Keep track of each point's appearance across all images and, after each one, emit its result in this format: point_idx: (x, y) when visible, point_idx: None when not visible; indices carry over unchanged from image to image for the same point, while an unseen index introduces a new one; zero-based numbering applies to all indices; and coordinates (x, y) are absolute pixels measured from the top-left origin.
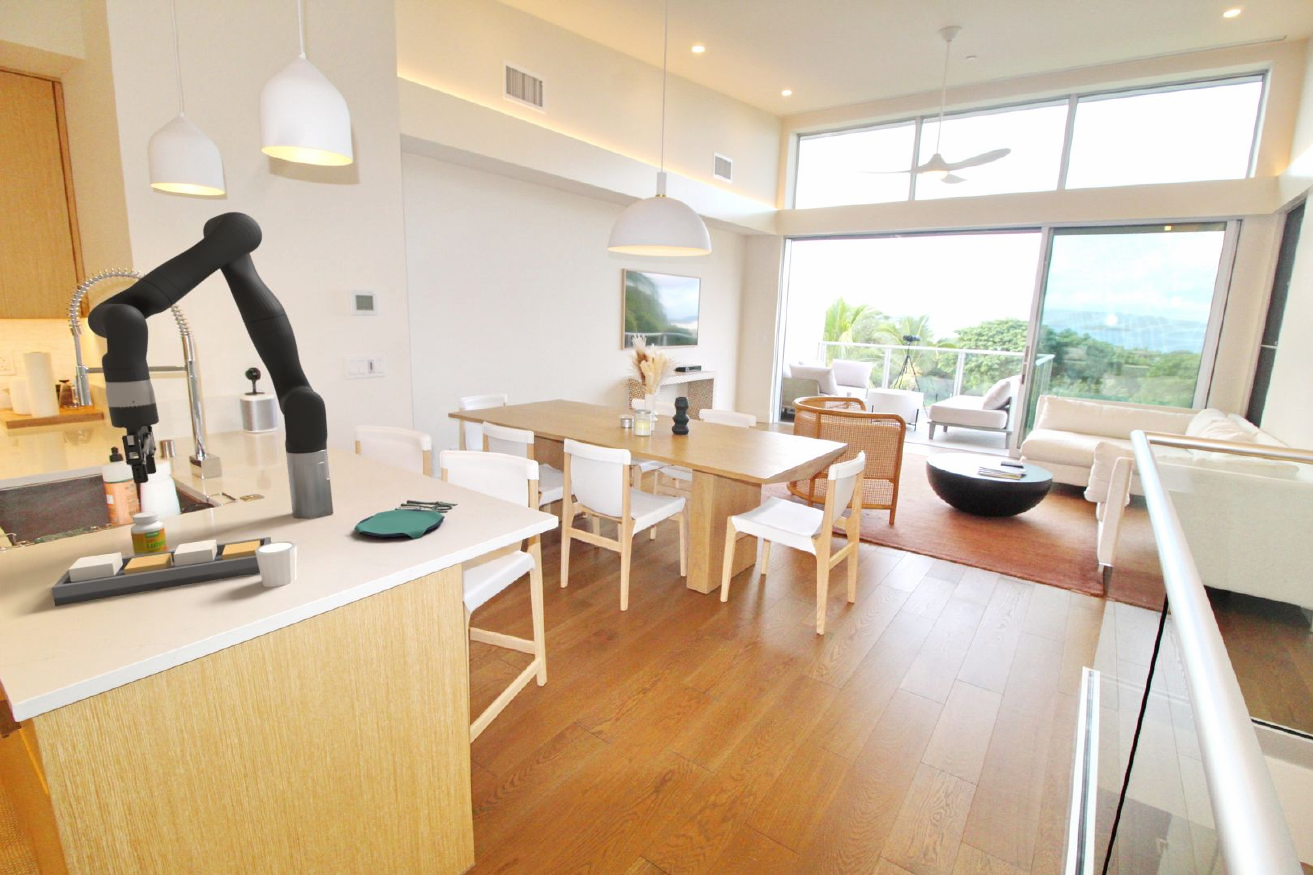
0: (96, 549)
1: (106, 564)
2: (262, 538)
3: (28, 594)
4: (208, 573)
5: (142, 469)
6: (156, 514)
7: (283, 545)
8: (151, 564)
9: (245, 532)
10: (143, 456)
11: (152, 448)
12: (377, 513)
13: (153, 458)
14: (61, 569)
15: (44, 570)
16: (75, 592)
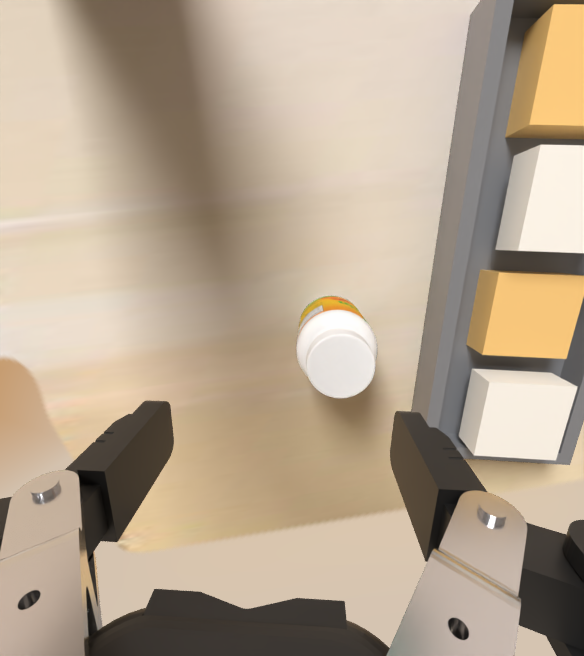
0: (203, 433)
1: (574, 396)
2: (502, 4)
3: None
4: None
5: (479, 482)
6: (352, 335)
7: None
8: (575, 305)
9: (217, 114)
10: (516, 571)
11: (79, 543)
12: None
13: (111, 462)
14: (311, 466)
15: (301, 488)
16: None
